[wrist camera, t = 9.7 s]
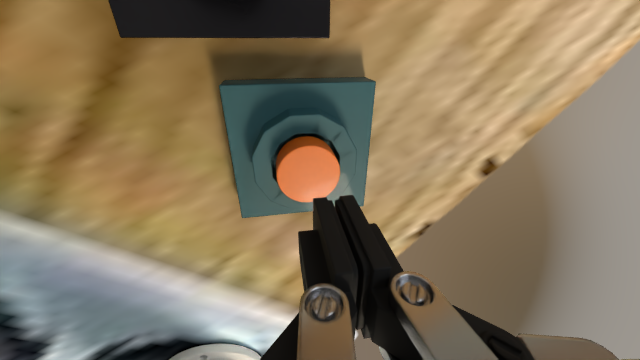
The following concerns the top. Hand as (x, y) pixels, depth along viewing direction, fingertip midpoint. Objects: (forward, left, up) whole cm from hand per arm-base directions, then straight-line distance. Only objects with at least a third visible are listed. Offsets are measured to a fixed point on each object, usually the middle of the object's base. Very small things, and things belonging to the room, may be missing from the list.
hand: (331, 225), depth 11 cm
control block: (-1, 0, -11) cm, 11 cm away
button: (-1, 0, -7) cm, 7 cm away
